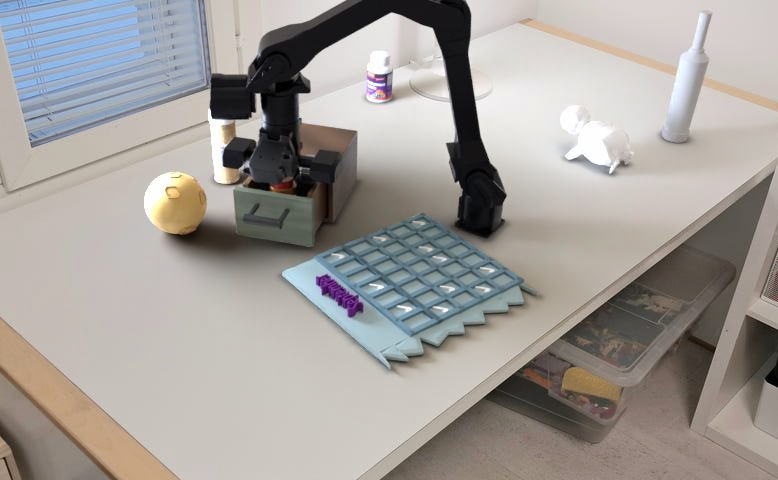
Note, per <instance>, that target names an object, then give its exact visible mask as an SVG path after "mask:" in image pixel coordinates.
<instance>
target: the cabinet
mask: <svg viewBox="0 0 778 480" xmlns="http://www.w3.org/2000/svg"><path fill="white" fill-rule="evenodd" d="M358 133H359V132H358V130H354V129H348V128H341V127H334V126H328V125H327V126H326V125H320V124H312V123H307V122H306V123H305V122H302V125H301V126H300V142H302V145H303V148H302V149H301V151H300V155H304V156H305V155H308V154H312V155H316V154H317V152H318V151H319V149H322V150H328V151H335V152H340V153H341V154H342V156H343V157H344V168H343V170H342V171H341V173H340V175H339V176H338V178H337V180H336V181H335V183H331V184H328V206H329V211H328V213H327V214H326V216H325V218H324V219H323V221H322V223H329V224H334V222H335V221H336V219H337V217H338V215H339V214H340V212H341V210H342V208H343V207H344V205H345V203H346V201H347V199H348V198H349V196H350V194H351V193H352V191H353V189H354V188H355V186H356V184H357V183H358ZM297 169H299V168H297Z"/></svg>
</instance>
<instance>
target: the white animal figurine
mask: <svg viewBox="0 0 778 480" xmlns="http://www.w3.org/2000/svg"><path fill="white" fill-rule="evenodd" d="M590 119H591V113H590V112H589V110H588V108H587V107H586V106H584V105H583V104H572V105H569V106H567V107H566V108H565V109H564V111H563V112H562V114H561V115H560V125H561V127H562V128H563V129H564V130H566V131H567V132H568V133H569V134H570V135H578V134H579V136H578V138H577V139H578V140H577V145H575V146H574V147H572V148H571V149H570V150H569V151H568V152H567V153H566V154H565V155H564V156H565V158H566V159H567V160H568V161H570V160H573V159H576V158H578V157H580V156H582V155H583V156H584V157H585V158H586V159H587V160H588V161H590V163H592V164H595V165H600V166H605V167H607V168H609V171H608V172H609V173H608V174H612V173H614V171H615V170H616V169H617V167H618V166H619V165H620V163H621V162H620V161H624V166H627V165H628V163H629V162H630V161H631V159H632V157H633V156H634V155H635V152H634V151H632V145H631V142H630V137H629V134H628V132H627V131H626V130H625V129H624V128H622V127H620V126H617V125H615V124H613V123H609V122H606V121H604V120H593V121H590Z"/></svg>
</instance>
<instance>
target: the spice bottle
mask: <svg viewBox="0 0 778 480" xmlns="http://www.w3.org/2000/svg"><path fill="white" fill-rule="evenodd" d="M296 187H297V185H296V183H295V181H294V179H293V177H287V178H286V179H284V178H283V181H282V183H281V184H279V185H272V184H270V192H276V193H282V194H288V195H294V196H296Z"/></svg>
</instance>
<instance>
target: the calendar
mask: <svg viewBox="0 0 778 480" xmlns="http://www.w3.org/2000/svg"><path fill="white" fill-rule="evenodd" d="M281 274H282V277H283V278H284V279H285V280H286V281H288V282H289V283H290V284H291V285H292V286H293V287H295V289H297V290H298V291H299V292H300V293H301V294H302V295H303V296H305V297H306V298H307V299H308V300H309V301H310V302H312V304H314V305H315V306H316V307H317V308H319V309H320V310H321V311H322V312H323V313H324V314H325V315H326V316H328V317H329V318H330V319H331V320H332V321H333V322H334V323H336V324H337V325H338V326H339V327H340V328H341V329H342V330H344V331H345V332H346V333H347V334H348V335H349V336H350V337H352V338H353V339H354V340H355V341H356V342H357V343H359V344H360V345H361V346H362V347H363V348H364V349H365V350H367V351H368V352H369V353H370V354H371V355H372V356H373V357H375V358H376V359H378V360H379V361H380V362H381V363H382V364H383V365H385V366H386V367H387V368H388V369H389V370H391V367H392V366H391V364H390V363H389V361H388V360H390V361H391V360H393V361H399V362H409V360H410V359H409V357H411V356H412V357H413V356H421V355H424V353H425V350H424V347H423V344H422V342H425V343H428V344H430V345H433V346H435V347H439V346H441V344H442V343H443V342H444V341H445V339H446V338H447V337H448V336H451V335H452V336H453V335H464V334H465V333H466V329H465V326H466V325H468V326H469V325H485V324H486V318H485V314H493V313H495V314H496V313H509V311H510V307H509V306H511V305H513V306H514V305H524V304H525V298H524V297H523V293H522V290H524V291H526V292H529V293H531V294H533V295H535V296H538V295H539V293H538V291H536V290H534V288H532V287H530V286H529V285H527V284H526V283H525V279H524V278H523V277H521V276H520V275H518V274H517V273H515V272H514V271H512V270H510V269H509V268H508V267H506V266H505V265H503V264H502V263H500V262H498V261H497V260H495V259H494V258H493V257H491V256H490V255H488V254H486V253H485V252H483V251H482V250H481V249H479V248H477V247H476V246H474V244H471V243H470V242H469V241H467V240H465V239H464V238H463V237H461V236H460V235H458V234H457V233H455V232H453V231H452V230H451V229H449V228H448V227H446V226H445V225H443V224H441V223H439V221H437V220H436V219H434V218H432V217H431V216H429V215H428V214H426V213H425V212H422V213H419V214H416V215H414V216H410V217H409V218H407V219H403V220H401V221H399V222H396V223H394V224H392V225H389V226H386V227H383V228H381V229H379V230H377V231H374V232H371V233H369V234H367V235H364V236H361V237H359V238H357V239H354V240H350V241H349V242H346V243H343V244H341V245H339V246H336V247H334V248H332V249H329V250H326V251H323V252H321V253H319V254H316V255H314V256H313V258H312V259H310V260H307V261H304V262H302V263H300V264H298V265H295V266H292V267H290V268H287V269H284V270H282V271H281ZM521 289H522V290H521Z"/></svg>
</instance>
